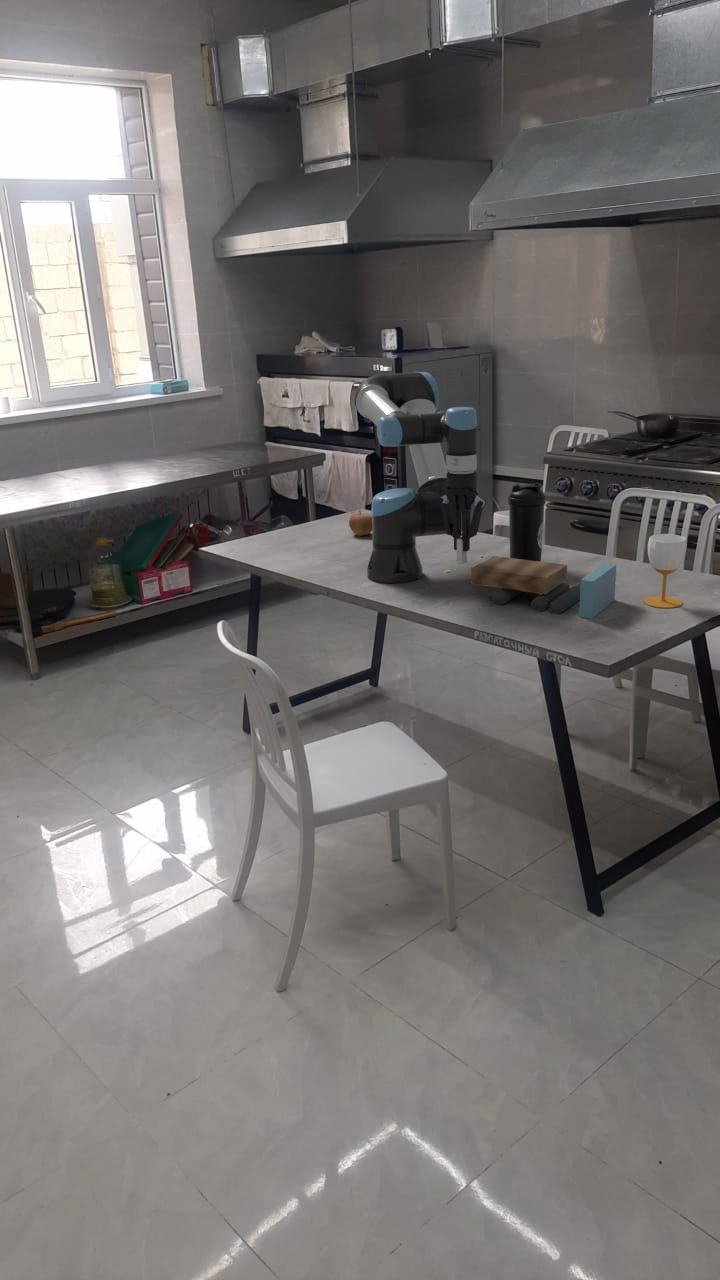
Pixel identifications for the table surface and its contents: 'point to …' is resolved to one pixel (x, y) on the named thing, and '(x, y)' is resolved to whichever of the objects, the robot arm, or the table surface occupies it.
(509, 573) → the slab
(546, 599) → the roller mid
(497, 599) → the roller rear
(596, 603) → the block
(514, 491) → the water bottle
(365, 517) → the apple
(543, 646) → the table surface
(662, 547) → the cup
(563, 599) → the cylinder
